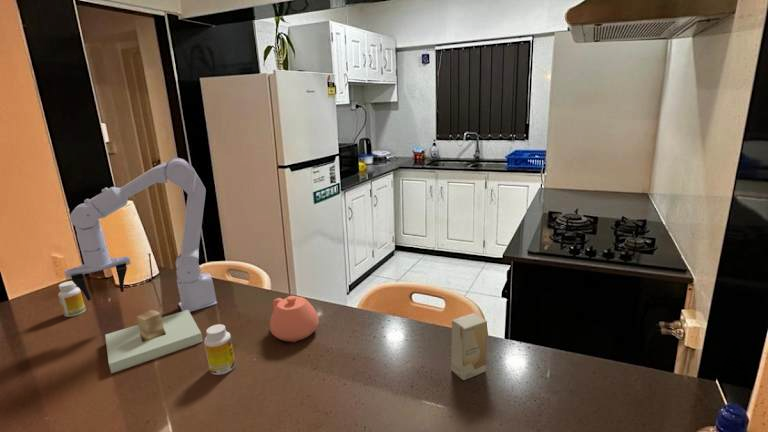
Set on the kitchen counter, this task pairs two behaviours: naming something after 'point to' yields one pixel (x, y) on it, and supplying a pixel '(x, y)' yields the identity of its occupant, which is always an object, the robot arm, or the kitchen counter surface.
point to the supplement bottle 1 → (71, 299)
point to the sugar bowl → (293, 319)
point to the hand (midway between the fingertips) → (106, 294)
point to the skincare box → (469, 346)
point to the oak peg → (150, 325)
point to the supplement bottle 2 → (219, 350)
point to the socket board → (151, 341)
